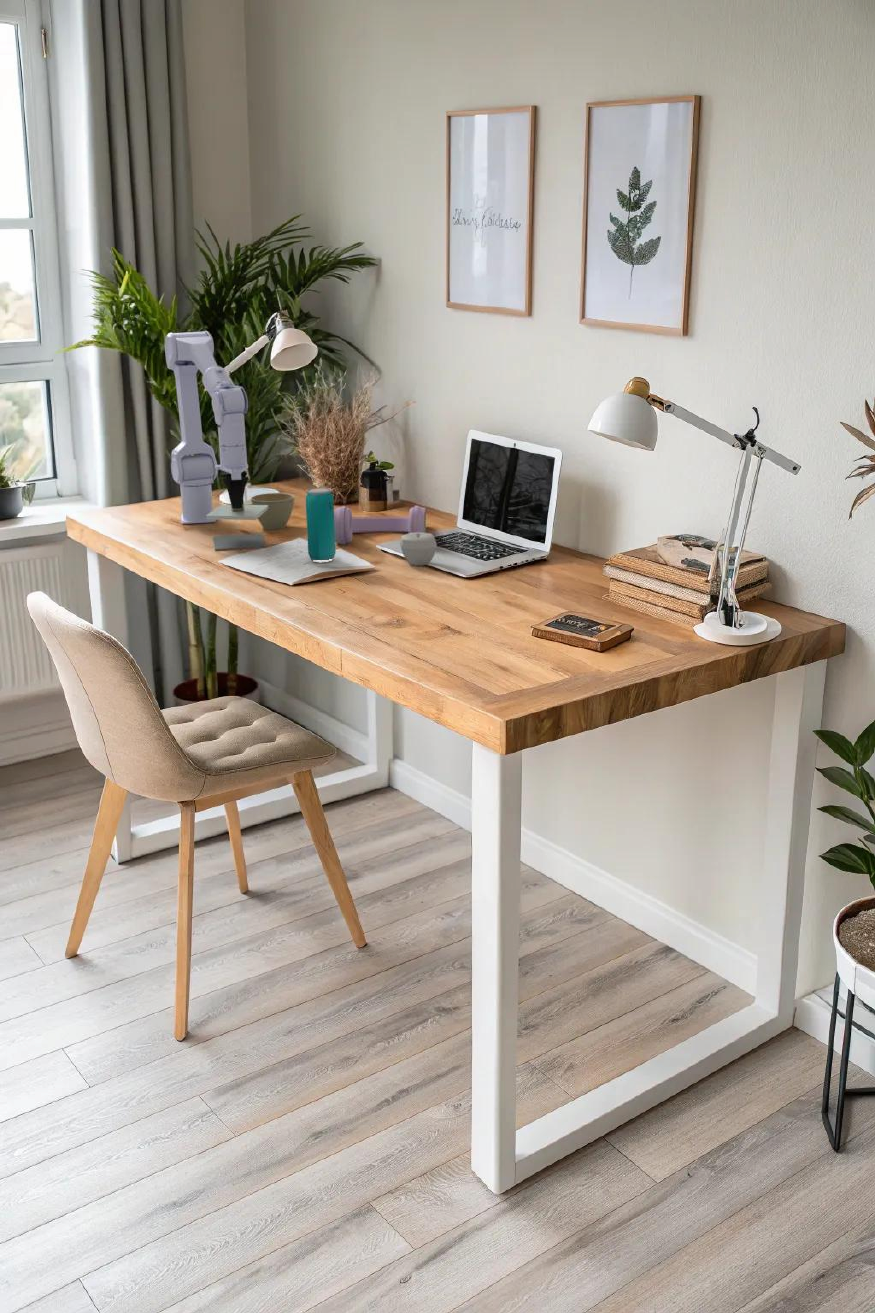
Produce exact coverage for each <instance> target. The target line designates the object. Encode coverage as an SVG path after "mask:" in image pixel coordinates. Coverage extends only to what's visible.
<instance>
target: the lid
mask: <svg viewBox="0 0 875 1313" xmlns="http://www.w3.org/2000/svg"><path fill="white" fill-rule="evenodd" d="M268 509H269V507H268V505H252V504H244V500H243V506H242V508H236V509H233V508H232V505H231V504H220V505H218V506H217V507H215V508H213V511H212V512H210V513H209V514H208V515H206V519H216V520H226V521H227V520H234V521H235V520H236V521H237V520H239V521H240V520H241V521H242V520H243V521H245V520H246V521H249V520H250V521H256V520H258V517H260V516H261V515H262V514H263V513H264V512H265V511H267V510H268Z"/></svg>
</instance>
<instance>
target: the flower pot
mask: <svg viewBox="0 0 875 1313" xmlns="http://www.w3.org/2000/svg"><path fill="white" fill-rule="evenodd" d="M250 501H251V505H268V507H269V509H268V510H267V511H265V512H264V513H263V514H262V515H261V516H260V517H258V518H257V521H258V522H259V524H260V525H261V526H262V528H263V529H265V530H282V529H284V528H286V526H287V525H288V522H289V521H290V518H291V515H292V512H293V508H294V503H295V495H294V494H291V493H286V492H285V493H284V492H271V493H268V492H267V493H261V494H256V495H253V496H251V497H250Z"/></svg>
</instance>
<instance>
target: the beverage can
mask: <svg viewBox="0 0 875 1313" xmlns="http://www.w3.org/2000/svg"><path fill="white" fill-rule="evenodd" d="M334 511H335V503H334V494H333V493H332V488H329V487H321V486H319V487H311V488H308V489H306V495H305V513H306V515H305V516H306V517H305V518H306V532H307V533H306V536H307V537H306V538H307V552H308V556H309V558H310V560H329V559H333V558H335V556H336V552H337V550H336V549H337V548H336V542H335V523H334ZM333 560H334V559H333Z"/></svg>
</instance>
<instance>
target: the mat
mask: <svg viewBox="0 0 875 1313" xmlns="http://www.w3.org/2000/svg"><path fill="white" fill-rule="evenodd" d="M262 533H263V532H261V533H259V532H258V533H245V534H244V533H243V534H242V533H241V534H230V535H229V534H227V535H215V536H213V535H212V541H213V545H214V546H213V547H214V551H216V552H218V551H219V552H220V551H222V552H223V551H234V550H237V551H238V550H249V549H266V548H267V545H266V541H265V539H264V537H263V536H264V535H263V534H262Z"/></svg>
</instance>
